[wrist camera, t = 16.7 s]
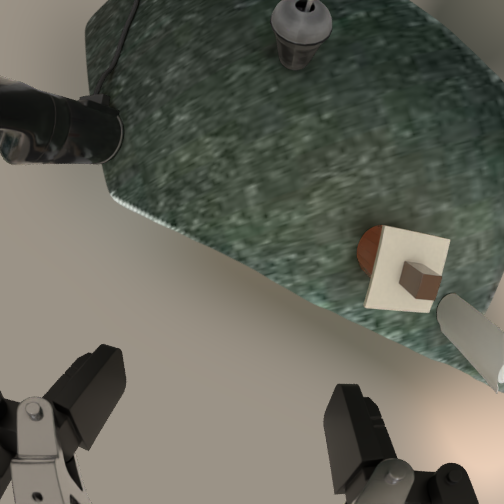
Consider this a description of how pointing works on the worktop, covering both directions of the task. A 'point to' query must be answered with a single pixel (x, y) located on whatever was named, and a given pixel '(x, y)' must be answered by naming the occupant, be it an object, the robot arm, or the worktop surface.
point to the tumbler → (369, 249)
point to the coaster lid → (406, 270)
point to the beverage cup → (300, 30)
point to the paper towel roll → (473, 337)
